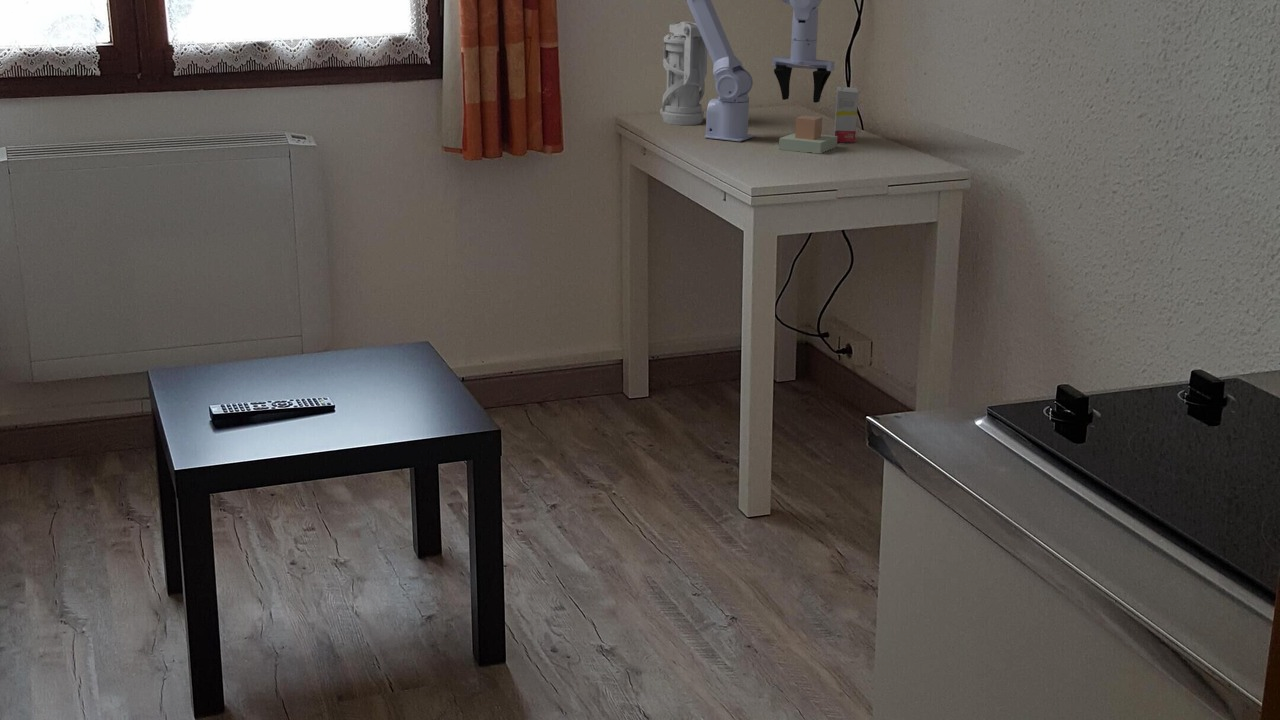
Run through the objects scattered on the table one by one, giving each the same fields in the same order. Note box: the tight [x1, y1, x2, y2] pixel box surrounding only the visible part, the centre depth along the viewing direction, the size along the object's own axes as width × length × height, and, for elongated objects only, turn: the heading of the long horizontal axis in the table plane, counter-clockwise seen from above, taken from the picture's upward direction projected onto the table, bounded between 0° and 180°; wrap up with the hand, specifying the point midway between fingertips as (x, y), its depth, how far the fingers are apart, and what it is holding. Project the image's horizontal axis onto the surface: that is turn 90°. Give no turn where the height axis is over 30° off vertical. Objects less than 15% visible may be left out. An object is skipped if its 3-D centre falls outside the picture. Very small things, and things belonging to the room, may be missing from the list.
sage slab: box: [778, 132, 838, 154], centre depth 308 cm, size 10×10×2 cm
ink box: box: [833, 86, 859, 144], centre depth 317 cm, size 9×5×12 cm, turn 173°
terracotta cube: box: [794, 115, 823, 140], centre depth 306 cm, size 4×4×4 cm
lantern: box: [659, 20, 708, 126], centre depth 335 cm, size 13×10×25 cm
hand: (800, 100), depth 310 cm, fingers open, 7 cm apart
